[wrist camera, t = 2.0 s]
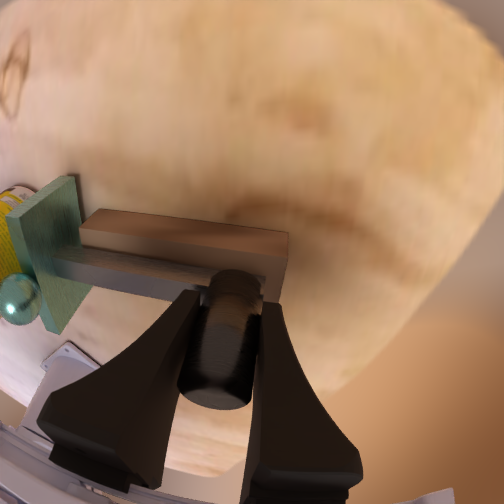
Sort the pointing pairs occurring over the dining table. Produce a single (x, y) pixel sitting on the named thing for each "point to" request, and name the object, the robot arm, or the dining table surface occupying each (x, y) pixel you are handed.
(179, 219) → the guide
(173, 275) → the slider rail assembly
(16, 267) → the supplement bottle
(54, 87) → the dining table surface
